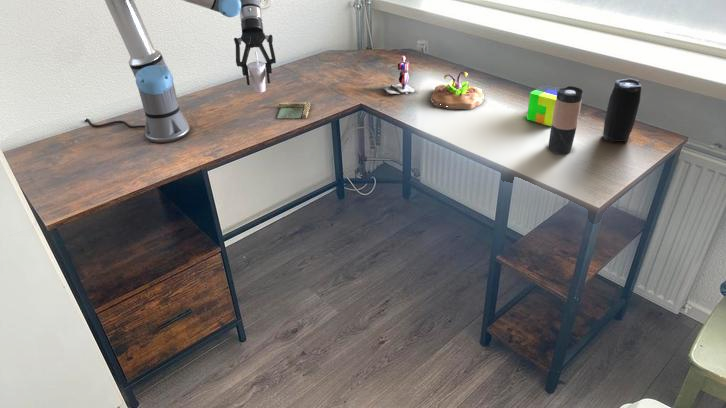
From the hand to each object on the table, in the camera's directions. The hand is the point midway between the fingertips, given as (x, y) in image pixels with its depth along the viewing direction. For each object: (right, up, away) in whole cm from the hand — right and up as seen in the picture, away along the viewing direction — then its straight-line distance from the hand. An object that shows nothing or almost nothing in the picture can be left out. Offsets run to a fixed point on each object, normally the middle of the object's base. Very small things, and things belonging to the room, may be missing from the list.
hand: (258, 82), depth 192 cm
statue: (+51, +3, +32) cm, 60 cm away
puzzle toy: (+102, -12, +6) cm, 103 cm away
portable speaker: (+121, -20, -8) cm, 123 cm away
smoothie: (0, -2, +6) cm, 6 cm away
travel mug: (+101, -24, -13) cm, 104 cm away
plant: (+73, -2, +23) cm, 77 cm away
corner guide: (+10, -7, +18) cm, 22 cm away
